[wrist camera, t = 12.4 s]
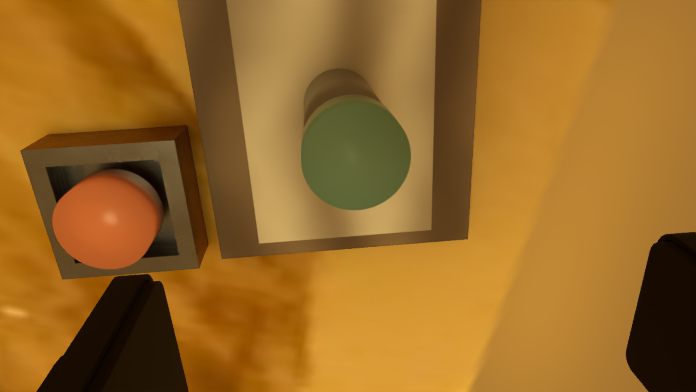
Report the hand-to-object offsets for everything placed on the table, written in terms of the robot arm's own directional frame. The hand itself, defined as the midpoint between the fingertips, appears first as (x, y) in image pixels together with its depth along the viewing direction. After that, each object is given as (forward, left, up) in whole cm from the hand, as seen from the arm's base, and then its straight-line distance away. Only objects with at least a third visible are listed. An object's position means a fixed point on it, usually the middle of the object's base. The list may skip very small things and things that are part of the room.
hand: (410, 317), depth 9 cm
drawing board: (0, 0, -21) cm, 21 cm away
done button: (+13, +5, -19) cm, 24 cm away
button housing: (+13, +5, -21) cm, 26 cm away
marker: (0, 0, -20) cm, 20 cm away
